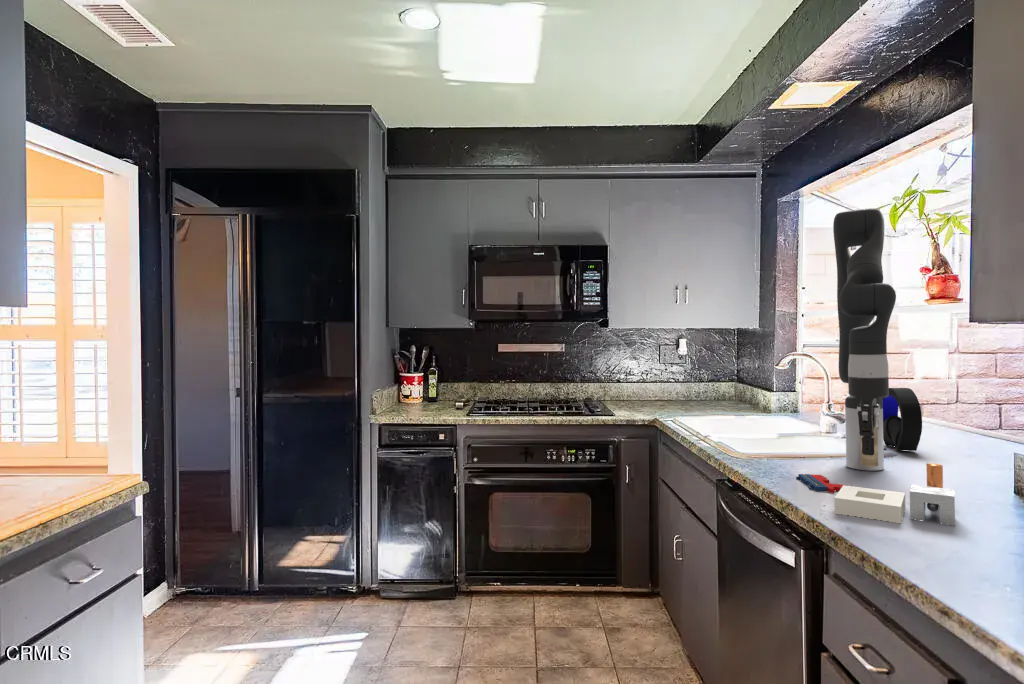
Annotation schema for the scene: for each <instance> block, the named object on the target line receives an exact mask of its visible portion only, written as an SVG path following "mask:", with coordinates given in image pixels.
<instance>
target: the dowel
mask: <svg viewBox="0 0 1024 684" xmlns="http://www.w3.org/2000/svg"><path fill="white" fill-rule="evenodd" d="M873 423H874V422H873ZM864 430H868V431H870V428H869V427H864ZM861 465H864V466H870V467H876V466H878V420H877V427H875V437H874V455H864V454H863V453H862V437H861Z"/></svg>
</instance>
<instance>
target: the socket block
mask: <svg viewBox="0 0 1024 684" xmlns="http://www.w3.org/2000/svg"><path fill="white" fill-rule="evenodd" d="M842 485H843V486H842V488H841V489H840V491H837V493H836V495H835V496H834V514H836V515H841V514H842V515H841V516H847V515H849V516H848V517H854V516H857V517H856V518H860V517H863V518H862V519H867V518H869V519H868V520H873V519H877V520H876V521H880V520H883V521H882V522H886V521H889V522H888V523H893V522H894V524H899V523H901V524H902V522H903V519H902V518H904V515H905V512H906V492H901V491H894V490H893V491H892V490H885V489H878V488H870V487H869V488H868V487H867V488H866V487H860V486H853V485H848V486H846V485H847V484H842ZM904 511H905V512H904ZM895 522H896V523H895Z"/></svg>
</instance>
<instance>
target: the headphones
mask: <svg viewBox="0 0 1024 684" xmlns="http://www.w3.org/2000/svg"><path fill="white" fill-rule="evenodd" d="M882 399H883V444H884V445H885V446H886V447H892V446H895V447H894V448H895V451H900V450H909V451H908V452H910V451H911V452H912V451H917V450H918V446H919V444H920V442H921V436H922V432H923V415H922V409H921V404H920V402H919V400H918V397H917V394H916V393H915V391H913V389H911V388H909V387H889V395H888V397H885V398H882ZM899 412H900V416H899Z"/></svg>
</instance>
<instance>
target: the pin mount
mask: <svg viewBox="0 0 1024 684" xmlns="http://www.w3.org/2000/svg"><path fill="white" fill-rule="evenodd" d="M955 492H956V490H955V489H951V488H944V487H943V488H936V487H927V485H919V484H911V485H910V489H909V520H910V519H916V520H923V521H924V522H925V520H926V515H925V514H926V508H927V507H926V504H927V503H932V504H939V524H940V523H942V524H941V525H943V524H948V525H947V526H950V525H953V526H952V527H955V525H956V502H955V499H956V497H955V495H956V494H955ZM924 519H925V520H924ZM916 520H915V521H916ZM923 521H922V522H923Z"/></svg>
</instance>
